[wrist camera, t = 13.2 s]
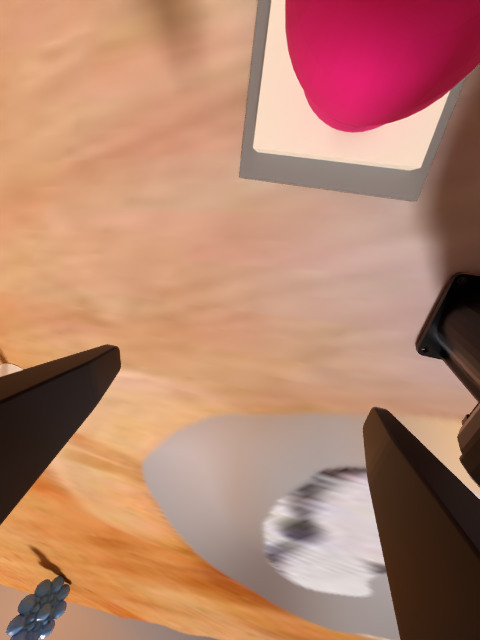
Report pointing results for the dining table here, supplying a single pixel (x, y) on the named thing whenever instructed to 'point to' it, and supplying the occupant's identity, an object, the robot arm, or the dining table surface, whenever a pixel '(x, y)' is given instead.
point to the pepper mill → (379, 56)
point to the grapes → (39, 611)
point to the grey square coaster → (328, 130)
